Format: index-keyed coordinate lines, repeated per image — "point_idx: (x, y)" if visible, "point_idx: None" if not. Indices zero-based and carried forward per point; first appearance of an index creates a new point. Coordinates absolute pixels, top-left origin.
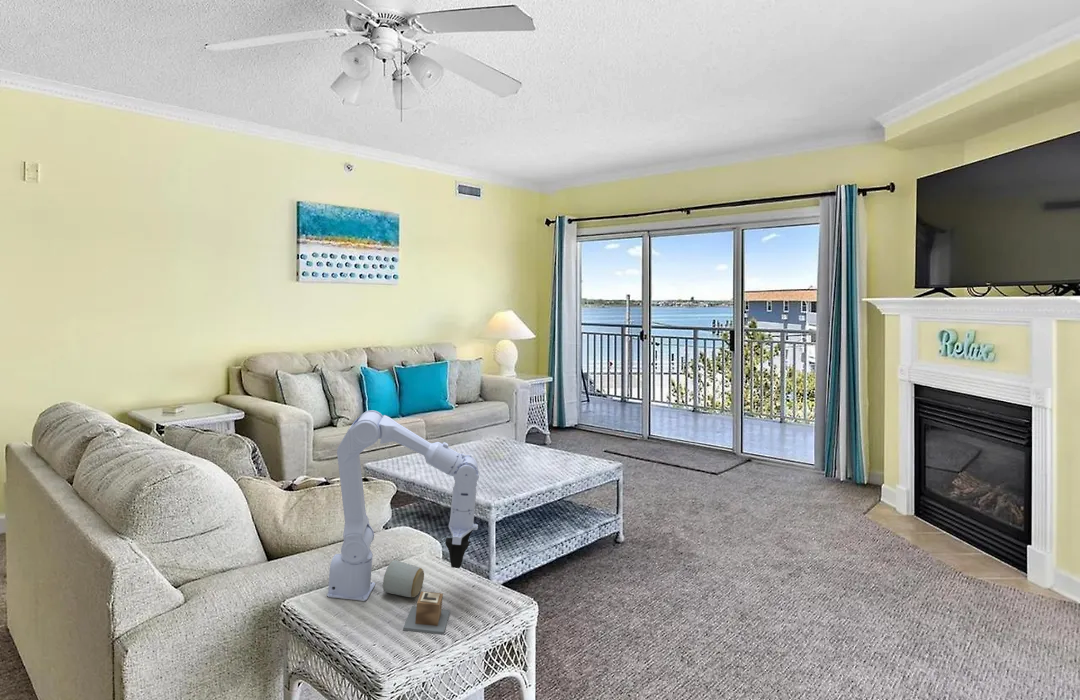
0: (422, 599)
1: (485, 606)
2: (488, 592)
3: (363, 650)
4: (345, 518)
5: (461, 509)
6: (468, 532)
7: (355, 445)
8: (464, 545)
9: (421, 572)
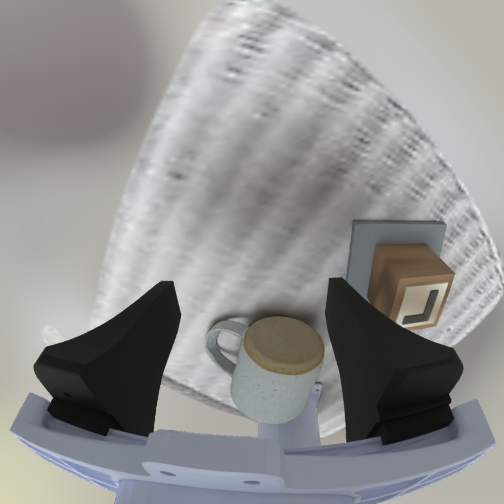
0: (428, 320)
1: (299, 114)
2: (204, 118)
3: (457, 336)
4: None
5: None
6: (379, 461)
7: None
8: (459, 377)
9: (282, 360)
